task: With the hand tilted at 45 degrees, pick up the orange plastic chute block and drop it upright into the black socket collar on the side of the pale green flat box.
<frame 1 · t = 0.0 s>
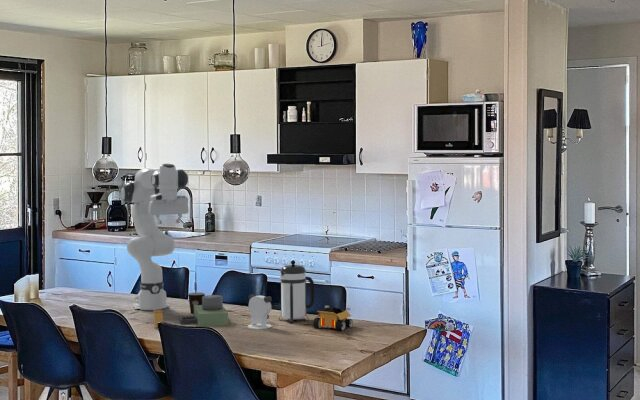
hand: (168, 223, 422), 48 cm above the table, tool pointing down, fingers open, 8 cm apart
panda figurine: (260, 327, 401), on the table
coffee mug: (199, 313, 437), on the table
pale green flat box: (188, 322, 413), on the table
coffee press: (295, 320, 417), on the table
yellow toy truck: (333, 328, 397), on the table
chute: (158, 327, 402), on the table
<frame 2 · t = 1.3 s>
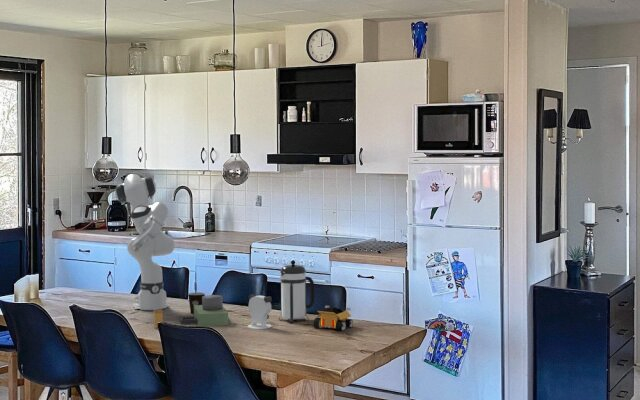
hand: (139, 247, 403), 38 cm above the table, tool tilted 50°, fingers open, 8 cm apart
nothing on the table moved.
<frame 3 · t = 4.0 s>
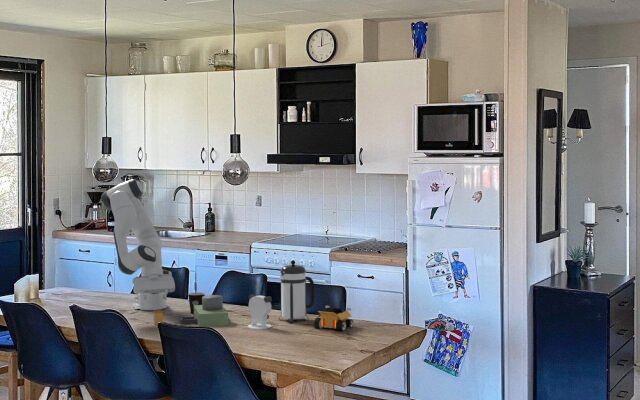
hand: (154, 298, 410), 12 cm above the table, tool tilted 45°, fingers open, 8 cm apart
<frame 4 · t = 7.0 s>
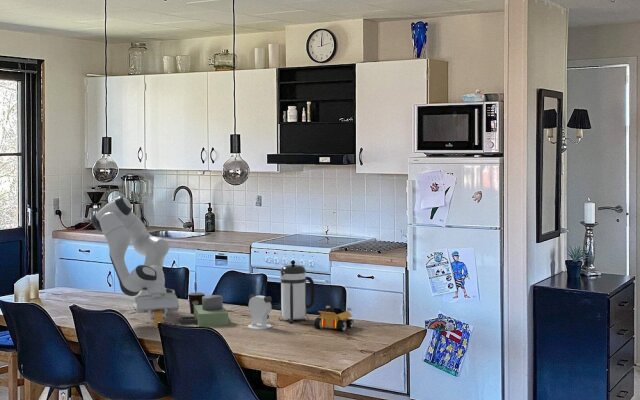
hand: (158, 318, 401), 4 cm above the table, tool tilted 45°, fingers closed on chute, 4 cm apart
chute: (158, 327, 402), on the table, touching gripper
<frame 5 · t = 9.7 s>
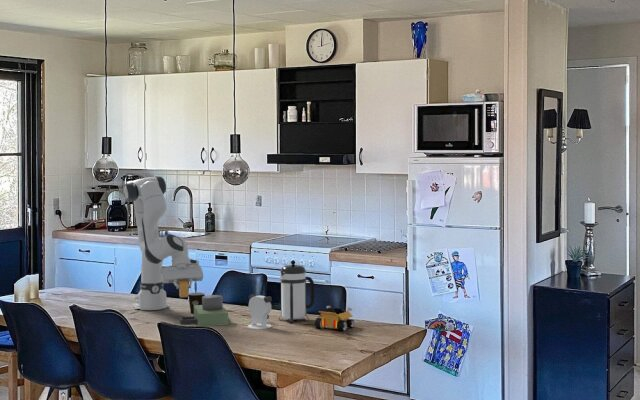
hand: (183, 287, 410), 17 cm above the table, tool tilted 45°, fingers closed on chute, 4 cm apart
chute: (184, 296, 411), point 13 cm above the table, touching gripper
when the fingers open (6 cm above the table, at t = 12.5 s): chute drops 2 cm, resting in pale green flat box.
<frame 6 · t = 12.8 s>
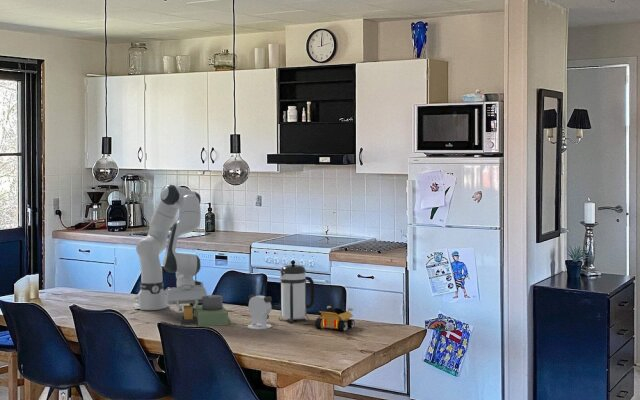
hand: (187, 309, 412), 6 cm above the table, tool tilted 45°, fingers open, 6 cm apart
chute: (188, 322, 413), resting in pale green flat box
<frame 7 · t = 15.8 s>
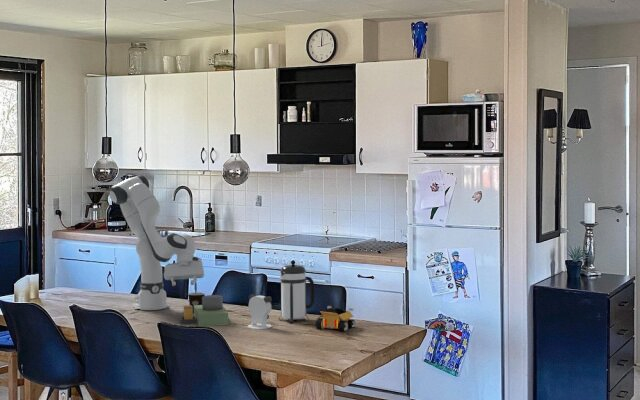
hand: (183, 284, 421), 17 cm above the table, tool tilted 45°, fingers open, 8 cm apart
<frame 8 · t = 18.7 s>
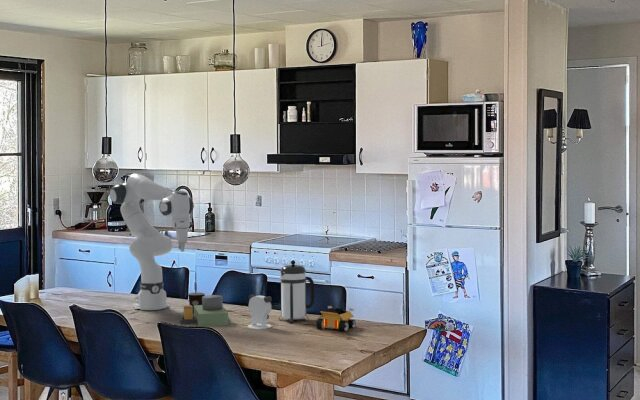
hand: (181, 250, 425), 34 cm above the table, tool pointing down, fingers open, 8 cm apart
at the end: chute 0.1 cm off-centre on the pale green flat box, point 0.0 cm above the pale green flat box's base; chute tilted 0°; the gripper is holding nothing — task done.
